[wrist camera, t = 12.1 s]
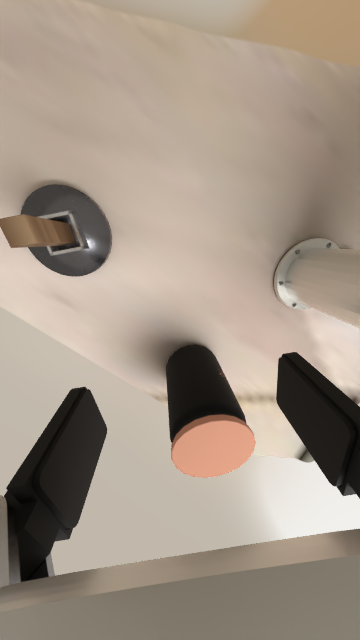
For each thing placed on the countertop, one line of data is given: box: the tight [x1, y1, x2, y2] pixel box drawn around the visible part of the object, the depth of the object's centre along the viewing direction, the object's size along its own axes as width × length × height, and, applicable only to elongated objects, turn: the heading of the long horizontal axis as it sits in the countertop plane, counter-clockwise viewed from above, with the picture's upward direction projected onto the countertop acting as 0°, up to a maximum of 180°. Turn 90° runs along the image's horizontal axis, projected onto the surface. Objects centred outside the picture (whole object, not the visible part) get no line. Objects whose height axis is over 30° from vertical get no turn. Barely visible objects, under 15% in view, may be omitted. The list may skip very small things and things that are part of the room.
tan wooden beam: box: [0, 214, 76, 248], centre depth 23 cm, size 2×2×10 cm
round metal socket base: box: [21, 185, 112, 276], centre depth 27 cm, size 12×12×3 cm
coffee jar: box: [166, 345, 255, 478], centre depth 32 cm, size 11×11×18 cm
